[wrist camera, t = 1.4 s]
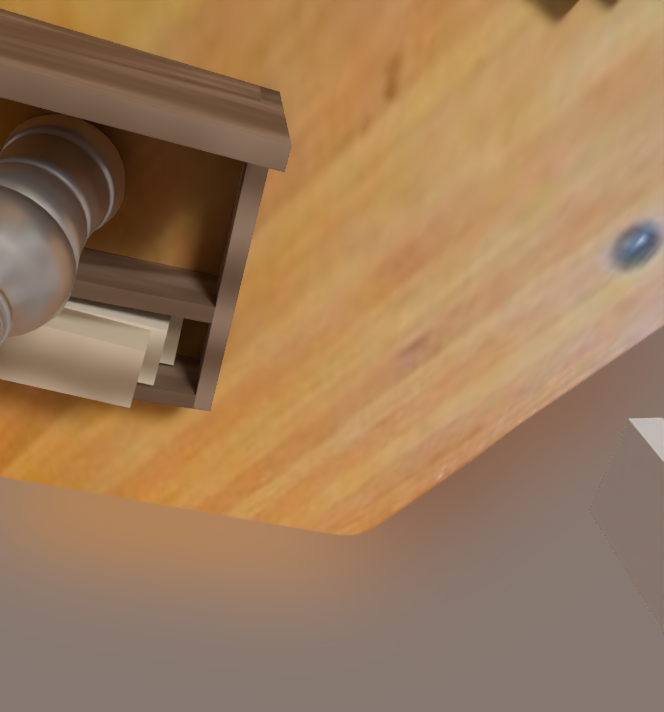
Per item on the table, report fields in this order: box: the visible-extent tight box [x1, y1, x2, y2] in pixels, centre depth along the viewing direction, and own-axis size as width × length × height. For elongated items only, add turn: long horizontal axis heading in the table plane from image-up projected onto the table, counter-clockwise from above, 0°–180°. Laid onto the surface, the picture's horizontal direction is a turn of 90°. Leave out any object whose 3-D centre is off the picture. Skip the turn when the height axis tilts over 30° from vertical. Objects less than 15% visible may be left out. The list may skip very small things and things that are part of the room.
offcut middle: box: [65, 296, 171, 385], centre depth 39 cm, size 5×14×2 cm, turn 70°
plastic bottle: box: [0, 114, 125, 346], centre depth 28 cm, size 6×7×20 cm
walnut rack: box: [0, 9, 291, 411], centre depth 33 cm, size 21×22×12 cm
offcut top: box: [0, 307, 151, 408], centre depth 37 cm, size 5×12×2 cm, turn 68°
